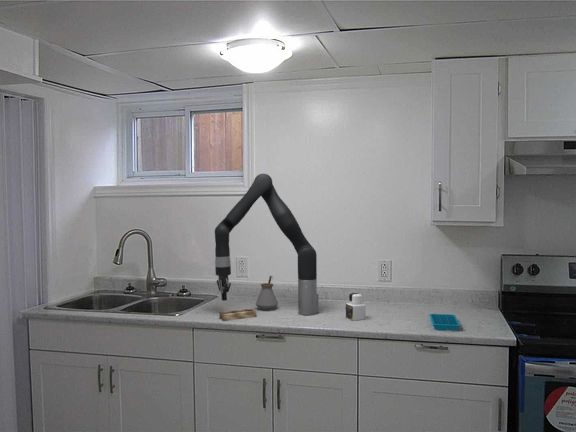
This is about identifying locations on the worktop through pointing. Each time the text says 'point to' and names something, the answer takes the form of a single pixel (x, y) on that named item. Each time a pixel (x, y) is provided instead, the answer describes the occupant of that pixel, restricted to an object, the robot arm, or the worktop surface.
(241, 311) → the tong arm
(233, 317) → the tong base
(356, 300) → the medicine bottle
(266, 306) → the coffee pot
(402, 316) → the worktop surface
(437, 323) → the ice cube tray
